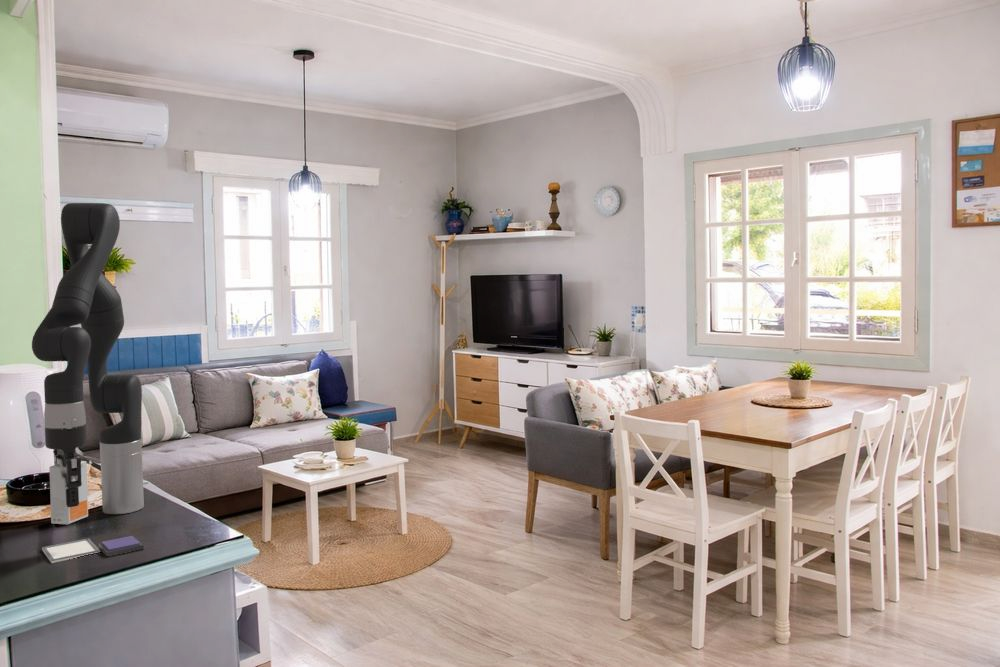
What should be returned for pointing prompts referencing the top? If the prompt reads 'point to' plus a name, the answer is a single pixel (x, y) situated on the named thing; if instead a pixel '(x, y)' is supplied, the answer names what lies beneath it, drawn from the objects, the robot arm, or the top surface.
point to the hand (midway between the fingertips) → (68, 502)
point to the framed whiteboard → (70, 550)
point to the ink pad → (120, 545)
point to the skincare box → (58, 497)
